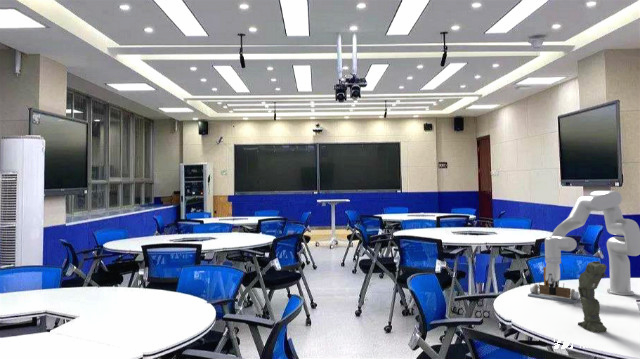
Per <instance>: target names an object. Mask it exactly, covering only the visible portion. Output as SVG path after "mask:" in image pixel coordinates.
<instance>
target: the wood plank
mask: <svg viewBox="0 0 640 359" xmlns="http://www.w3.org/2000/svg"><path fill="white" fill-rule="evenodd" d="M538 286H539V288H538V291H540V294H547V295H551V294H549V286H547V285H544V284H538ZM555 288H556V295H554V296H560V297H566V298H570V296H571V290H572V289H571V288H569V287H564V288H563V286H559V287H556V286H555Z"/></svg>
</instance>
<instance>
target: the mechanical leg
mask: <svg viewBox="0 0 640 359" xmlns="http://www.w3.org/2000/svg"><path fill="white" fill-rule="evenodd" d="M607 268H608V267H607V265H606V263H605V264H604V263H601V261H600V260H598V261H591V262H588V263H587V265H586V266H585V270H584V271H583V272H582V273H580V275H579V277H578V287H577V290H578V291H577V292H579V297H580V299H581V300H580V304H581V308H582V313H583V321H580V322H578V323H577V326H579V327H581V328H583V329H586V330H587V331H590V332H593V333H594V332H598V333H607V329H608V328H607V327H606V326H605V325H604V323H603V322H602V321H601V320H602V319H601V318H600V317H601V316H600V310H601V308H600V307H601V306H600V305H601V304H600V301H599V300H598V299H597V298H596V297H595V290H597V289H598V286H599V284H600V282H601V280H602V279H603V278H606V277H607V274H606V270H607Z"/></svg>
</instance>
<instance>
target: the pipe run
mask: <svg viewBox="0 0 640 359" xmlns="http://www.w3.org/2000/svg"><path fill="white" fill-rule="evenodd" d="M538 286H539V284H537V283H534V285H532V284H531V285H530V286H529V287H530V293H528V294H527V297H531V298H537V299H543V300H551V301H557V302H563V303H568V302H569V304H574V303H575V304H576V302H577V303H578V302H579V301H581V300H580V295H579V291H575V289H574V288H572V289H571V294H570V298H566V297H560V296H554V295H547V294H540V291H539V288H538Z"/></svg>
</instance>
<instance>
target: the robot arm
mask: <svg viewBox="0 0 640 359" xmlns="http://www.w3.org/2000/svg"><path fill="white" fill-rule="evenodd" d="M622 201H623V196H622V194H621V193H620V192H619V191H617V190H593V191H591V192H590V193H589V195H583V196H579V197H578V198H577V200H576V201H575V203H574V205H573V207H572V209H571V211H570V213H569V215H568V216H567V218H566V219H564V220H562V221H561V223H559V224H558V225H557V226H556V227H555V228H554V230H553V232H551V235H550V236H548V237H545V238H544V257H545V258H544V262H545V267H546V281H548V283H549V294H551V295H556V288H555V286H556V287H558V280H559V281H560V280H561V266H560V264H561V262H562V258H561V257H562V253H561V251H564V252H572V251H574V250H575V249H576V248H577V247H578V246H577V245H578V244H577V240H575V238H573V237H569V236H566V235H567V234H568V233H570V232H572V231H574V230H576V229H579V228H581V227H583V226H584V225H585V224H586V221H587V220H588V218H589V216H590V214H591V212H602V213H603V217H604V221H605V227H606V232H608V233H609V234H610V235H614V236H612V237H609V238H608V239H607V241H606V249H607V253H608V262H609V264H608V265H609V288H607V289H606V292H607V293H609V294H612V295H618V296H634V295H635V292H634V291H633V290H631V261H630V259H629V256H631V257H637V256H639V255H640V226H639V224H638V222H636V221H635V220H633V219H630V218H624V216H623V212H622V209H621V207H620V204H621V203H622ZM561 265H562V264H561Z"/></svg>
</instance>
